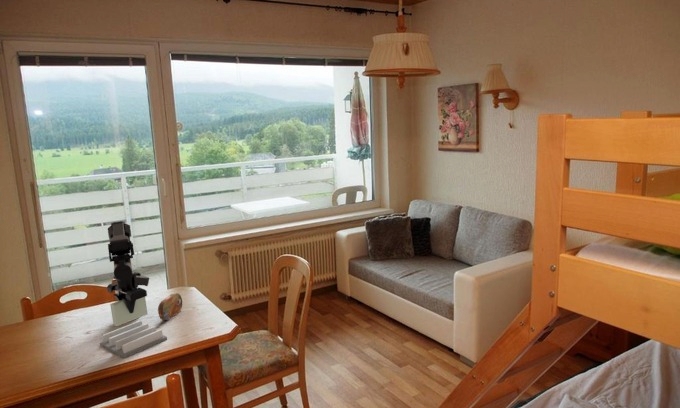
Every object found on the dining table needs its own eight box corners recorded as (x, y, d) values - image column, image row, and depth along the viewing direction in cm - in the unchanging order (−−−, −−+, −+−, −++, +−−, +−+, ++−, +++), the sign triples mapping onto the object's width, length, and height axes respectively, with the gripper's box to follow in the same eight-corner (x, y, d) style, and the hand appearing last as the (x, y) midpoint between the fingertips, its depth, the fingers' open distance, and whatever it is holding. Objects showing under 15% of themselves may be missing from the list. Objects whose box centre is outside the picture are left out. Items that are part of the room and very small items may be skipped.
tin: (165, 323, 195) (162, 304, 193) (158, 323, 195) (155, 304, 194) (183, 308, 209) (181, 290, 207) (177, 308, 210) (175, 290, 208)
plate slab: (113, 324, 174) (110, 304, 172) (144, 313, 183) (141, 293, 182) (116, 326, 172) (113, 305, 171) (147, 314, 181) (144, 294, 180)
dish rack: (100, 345, 178) (98, 335, 178) (142, 328, 191) (141, 318, 191) (123, 358, 167) (121, 347, 166) (167, 339, 180) (165, 329, 179)
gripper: (157, 270, 175) (163, 309, 177) (132, 262, 186) (137, 300, 189) (128, 279, 166) (134, 320, 169) (103, 270, 178) (109, 309, 181)
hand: (129, 312), depth 177 cm, fingers closed on plate slab, 2 cm apart
